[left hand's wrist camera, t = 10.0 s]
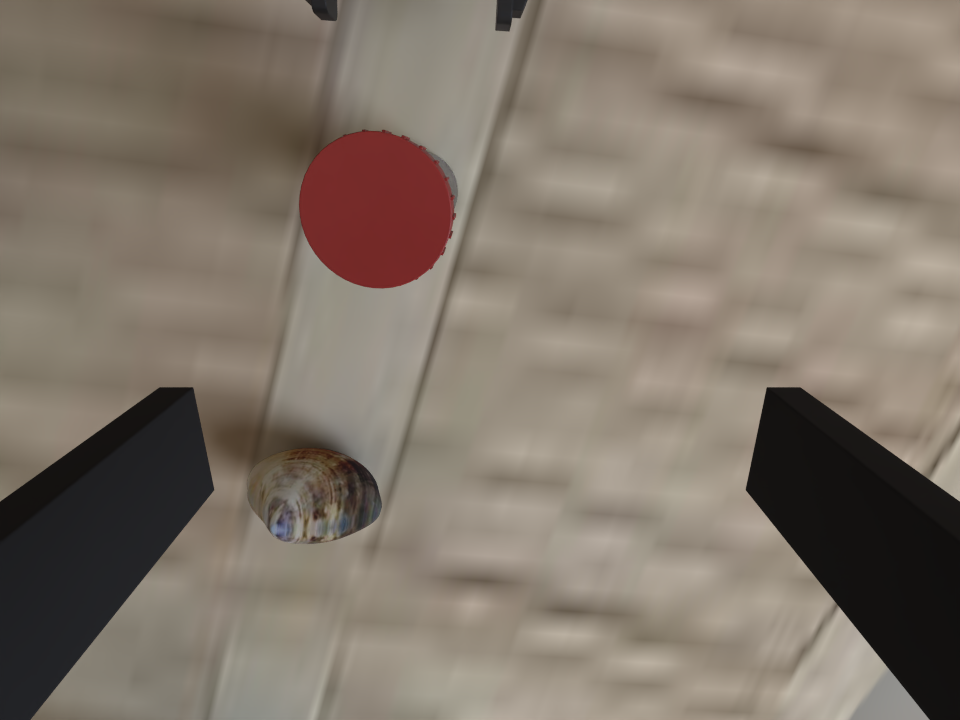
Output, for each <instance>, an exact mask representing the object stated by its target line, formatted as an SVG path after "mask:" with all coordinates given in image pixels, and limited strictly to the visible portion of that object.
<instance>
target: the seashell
mask: <svg viewBox="0 0 960 720" xmlns="http://www.w3.org/2000/svg"><path fill="white" fill-rule="evenodd" d="M247 489H248V492H247V495H248V501H249V503H250V506H251V507H252V509H253V511H254V512H255V513H256V514H257V515H258V517H259V518H260V519H261V520H262V521H263V522H264V523H265V525H266V527H267V528H268V530H269V531H270V533H271V534H272V535H273V536H274V537H275V538H277V539H279V540H281V541H284V542H289V543H298V544H314V543H323V542H329V541H333V540H337V539H340V538H343V537H345V536H348V535H350V534H353V533H355V532H357V531H359V530H361V529H363V528H365V527H367V526H368V525H370V524H371V523H373V522H374V521H375V520H376V519H377V518H378V516H379V514H380V511H381V508H382V503H381V498H380V494H379V490H378V486H377V483H376V481H375V479H374V478H373V476H372V475H371V473H370V472H369V471H368V470H367V469H366V468H365V467H364V466H363V465H362V464H360V463H359V462H357V461H356V460H354V459H352V458H350V457H348V456H346V455H343V454H341V453H338V452H335V451H331V450H326V449H318V448H301V449H293V450H288V451H284V452H280V453H277V454H275V455H272V456H270V457H268V458H266V459H264V460H262V461H261V462H259V463H258V464H257V465H256V466H255V467H254V468H253V469H252V471H251V472H250V474H249V477H248V480H247Z"/></svg>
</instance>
